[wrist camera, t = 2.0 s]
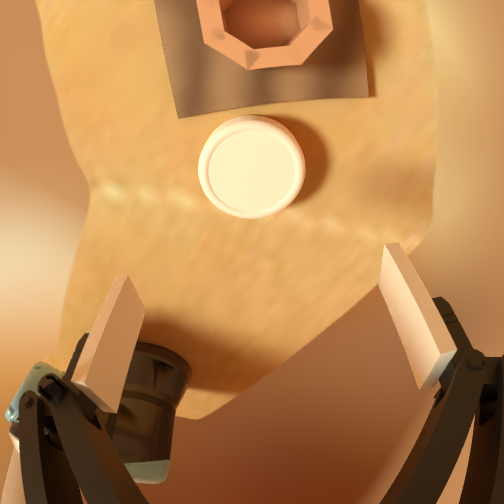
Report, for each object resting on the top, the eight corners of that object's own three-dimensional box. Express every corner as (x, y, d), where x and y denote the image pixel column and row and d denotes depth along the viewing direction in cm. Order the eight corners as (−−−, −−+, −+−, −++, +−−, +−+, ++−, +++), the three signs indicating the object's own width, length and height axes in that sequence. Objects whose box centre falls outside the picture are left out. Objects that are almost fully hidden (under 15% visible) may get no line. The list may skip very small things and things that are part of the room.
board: (181, 116, 26) (178, 119, 25) (153, -26, 17) (149, -29, 16) (364, 95, 25) (368, 97, 24) (343, -47, 16) (346, -51, 15)
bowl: (218, 74, 23) (210, 76, 18) (202, -13, 18) (190, -31, 13) (319, 62, 22) (337, 63, 17) (305, -24, 17) (319, -44, 12)
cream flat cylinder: (190, 185, 31) (183, 200, 28) (224, 99, 26) (220, 103, 23) (275, 217, 33) (277, 234, 31) (317, 139, 28) (325, 148, 25)
